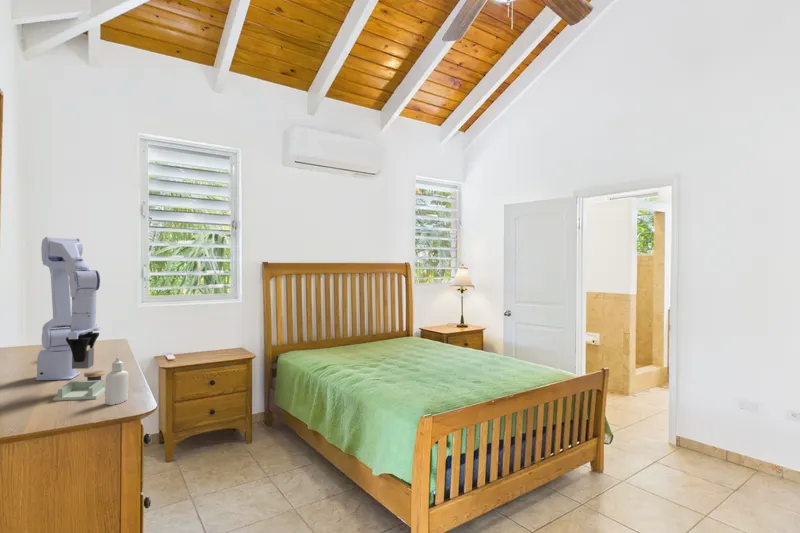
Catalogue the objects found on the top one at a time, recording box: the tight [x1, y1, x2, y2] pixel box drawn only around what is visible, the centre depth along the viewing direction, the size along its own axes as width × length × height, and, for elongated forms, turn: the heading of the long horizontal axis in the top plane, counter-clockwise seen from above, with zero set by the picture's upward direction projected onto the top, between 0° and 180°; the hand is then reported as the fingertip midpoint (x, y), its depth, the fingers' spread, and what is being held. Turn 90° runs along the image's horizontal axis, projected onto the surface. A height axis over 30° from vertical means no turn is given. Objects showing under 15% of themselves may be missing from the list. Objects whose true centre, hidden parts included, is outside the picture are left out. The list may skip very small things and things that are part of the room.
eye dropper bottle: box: [104, 356, 129, 406], centre depth 121 cm, size 4×6×12 cm
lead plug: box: [72, 345, 95, 370], centre depth 130 cm, size 4×4×6 cm
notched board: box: [52, 379, 105, 402], centre depth 126 cm, size 10×8×3 cm
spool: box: [83, 370, 105, 387], centre depth 135 cm, size 5×5×4 cm
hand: (82, 360), depth 130 cm, fingers closed on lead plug, 4 cm apart
